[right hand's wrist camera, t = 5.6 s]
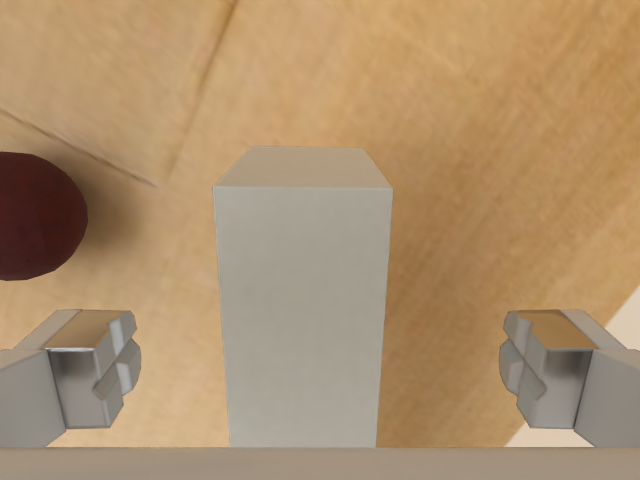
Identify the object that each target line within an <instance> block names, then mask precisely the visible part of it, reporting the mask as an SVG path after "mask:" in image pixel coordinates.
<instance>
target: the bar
mask: <svg viewBox="0 0 640 480" xmlns="http://www.w3.org/2000/svg"><path fill="white" fill-rule="evenodd" d="M212 191H213V206H214V221H215V235H216V250H217V264H218V279H219V294H220V308H221V323H222V338H223V352H224V367H225V382H226V396H227V411H228V425H229V440H230V447H376V438H377V424H378V409H379V394H380V380H381V365H382V350H383V336H384V321H385V306H386V292H387V277H388V263H389V248H390V233H391V219H392V204H393V188H392V187H391V185H390V184H389V182H388V181H387V180H386V178H385V177H384V175H383V174H382V173H381V171H380V170H379V169H378V167H377V166H376V164H375V163H374V162H373V160H372V159H371V157H370V156H369V155H368V153H367V152H366V150H365V149H364V148H363V147H284V146H251V147H250V148H249V149H248V150H247V151H246V152H245V153H244V154H243V155H242V156H241V157H240V158H239V160H238V161H237V162H236V163H235V164H234V165H233V166H232V167H231V168H230V169H229V170H228V171H227V172H226V173H225V174H224V175H223V176H222V178H221V179H220V180H219V181H218V182H217V183H216V184H215V185H214V186H213V188H212Z"/></svg>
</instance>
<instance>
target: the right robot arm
mask: <svg viewBox="0 0 640 480" xmlns="http://www.w3.org/2000/svg"><path fill="white" fill-rule="evenodd" d="M136 330H137V327H136V322H135V317H134V315H133V314H132V312H131V311H127V310H83V309H72V310H56V311H55V312H54V313H53V314H52V315H51V316H49V317H48V318H47V319H46V320H45V321H44V322H43V323H42V324H40V325H39V326H38V327H37V328H36V329H35V330H34V331H32V332H31V333H30V334H29V335H28V336H27V337H26V338H24V339H23V340H22V341H21V342H20V343H19V344H18V345H17V346H15V347H14V348H13V349H9V350H2V351H0V480H640V351H638V350H631V349H627V348H626V347H625V346H624V345H622V344H621V343H620V342H619V341H618V340H617V339H616V338H614V337H613V336H612V335H611V334H610V333H609V332H608V331H607V330H605V329H604V328H603V327H602V326H601V325H600V324H599V323H597V322H596V321H595V320H594V319H593V318H592V317H591V316H590V315H588V314H587V313H586V312H585V311H583V310H579V309H569V310H521V311H509V312H508V313H507V315H506V317H505V321H504V327H503V330H504V331H505V333H506V334H507V336H508V337H509V338H508V339H507V340H506V341H505V342H504V343H503V345H502V346H501V347H500V353H499V369H500V375H501V378H502V381H503V383H504V385H505V387H506V388H507V390H508V391H510V392H511V393H513V394H515V395H516V396H518V397H517V403H516V405H517V407H518V409H519V410H520V412H521V413H522V415H523V417H524V418H525V420H526V422H527V423H528V425H529V427H530V428H547V429H574V432H576V433H577V434H578V435H580V436H581V437H582V438H584V439H585V440H586V441H588V442H589V443H590V444H592V445H593V446H594V447H46V446H47V445H48V444H50V443H51V442H52V441H54V440H55V439H57V438H58V437H59V436H61V435H62V434H63V433H65V432H66V429H93V428H110V427H111V425H112V423H113V422H114V420H115V418H116V417H117V415H118V414H119V412H120V410H121V409H122V407H123V405H124V403H123V397H122V396H124V395H125V394H127V393H129V392H130V391H132V390H133V388H134V386H135V385H136V383H137V381H138V378H139V374H140V370H141V352H140V347H139V346H138V345H137V343H136V342H135V341H134V340H133V339H132V338H131V337H132V336H133V334H134V333H135V331H136Z"/></svg>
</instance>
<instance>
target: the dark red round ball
mask: <svg viewBox="0 0 640 480" xmlns="http://www.w3.org/2000/svg"><path fill="white" fill-rule="evenodd" d="M87 221H88V217H87V206H86V203H85V201H84V198H83V196H82V193H81V192H80V190H79V189H78V188H77V186H76V185H75V183H74V182H73V181H72V180H71V179H70V178H69V176H68V175H67V174H66V173H65V172H63V171H62V170H60V169H59V168H58V167H56V166H55V165H53V164H52V163H50V162H49V161H47V160H44V159H42V158H40V157H37V156H35V155H32V154H24V153H13V152H0V280H5V281H13V280H28V279H31V278H34V277H37V276H41V275H43V274H46V273H49V272H52V271H55V270H56V269H57V268H58V267H60V266H61V265H62V264H64V263H65V262H66V261H67V260H68V259H69V258H70V257H71V256H72V255H73V254H74V252H75V250H76V249H77V247H78V245H79V244H80V242H81V240H82V239H83V237H84V233H85V230H86V226H87Z"/></svg>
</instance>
